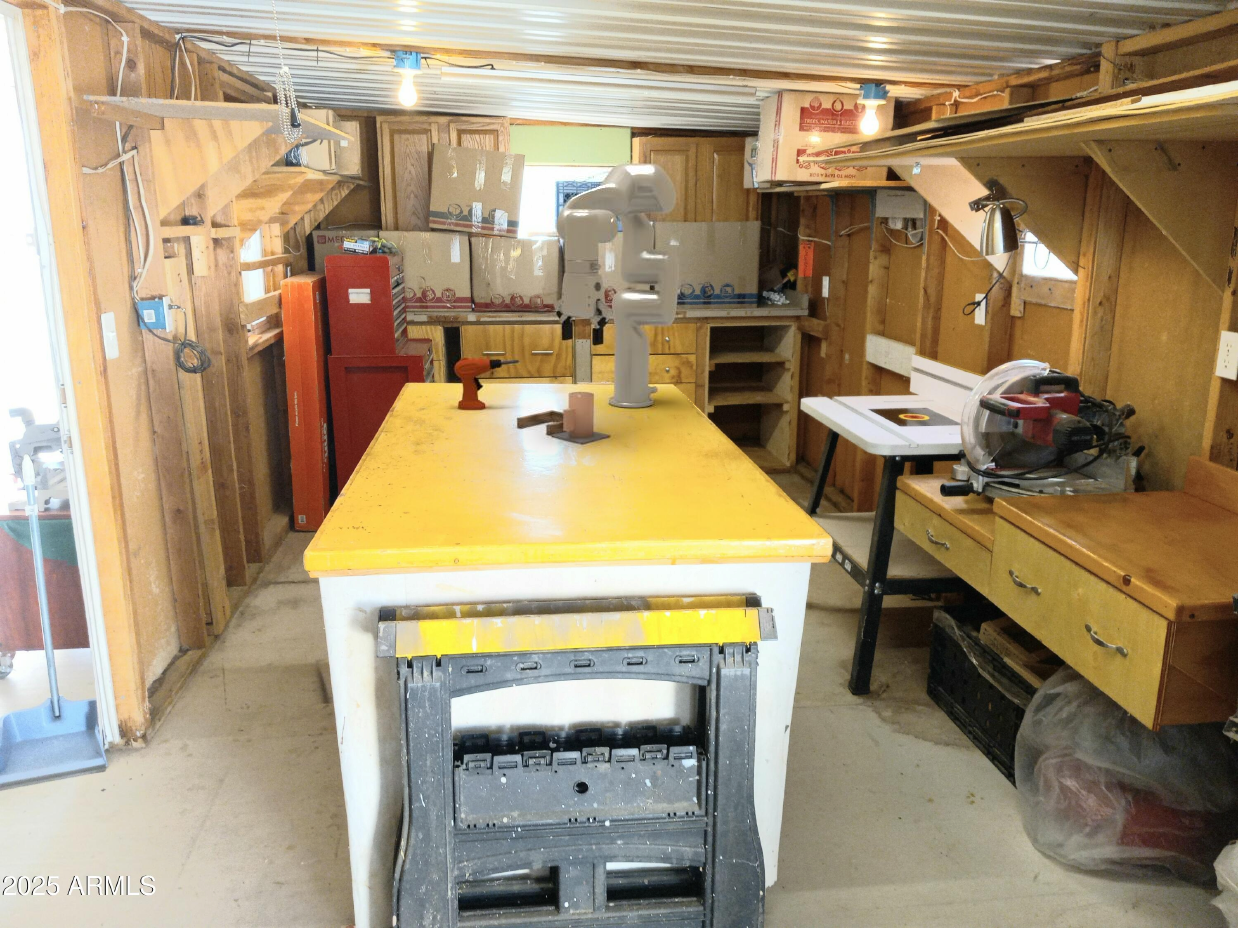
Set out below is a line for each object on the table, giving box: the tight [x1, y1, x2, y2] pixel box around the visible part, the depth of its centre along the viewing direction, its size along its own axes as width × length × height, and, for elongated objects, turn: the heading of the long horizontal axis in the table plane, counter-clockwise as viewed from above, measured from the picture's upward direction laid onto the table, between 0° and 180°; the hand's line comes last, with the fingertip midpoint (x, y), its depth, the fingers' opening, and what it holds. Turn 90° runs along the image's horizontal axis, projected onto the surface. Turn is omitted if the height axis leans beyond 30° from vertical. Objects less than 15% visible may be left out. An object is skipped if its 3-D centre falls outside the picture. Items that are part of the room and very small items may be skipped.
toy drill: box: [453, 356, 520, 411], centre depth 248 cm, size 5×18×14 cm, turn 96°
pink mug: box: [563, 391, 595, 438], centre depth 218 cm, size 8×6×10 cm
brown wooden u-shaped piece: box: [516, 409, 567, 436], centre depth 229 cm, size 12×11×2 cm
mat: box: [550, 431, 611, 445], centre depth 220 cm, size 10×10×1 cm
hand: (582, 342), depth 215 cm, fingers open, 9 cm apart
